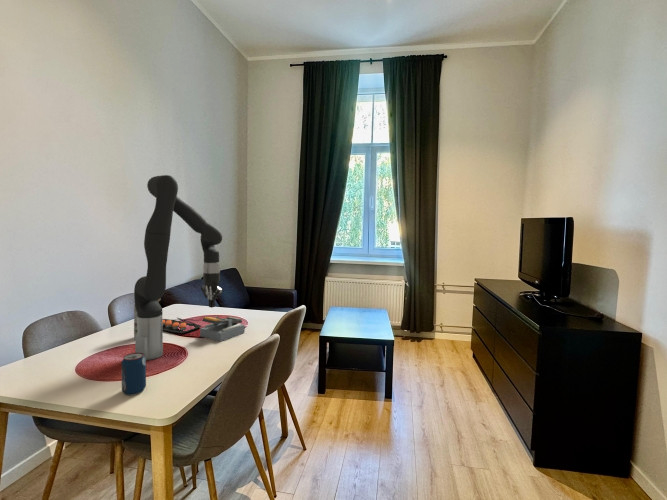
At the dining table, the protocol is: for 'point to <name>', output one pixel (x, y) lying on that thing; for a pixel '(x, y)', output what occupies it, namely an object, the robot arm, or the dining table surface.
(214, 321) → the breaker rocker
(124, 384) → the soda can
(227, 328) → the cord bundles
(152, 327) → the robot arm
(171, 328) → the sushi plate
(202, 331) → the switch box
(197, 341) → the dining table surface
